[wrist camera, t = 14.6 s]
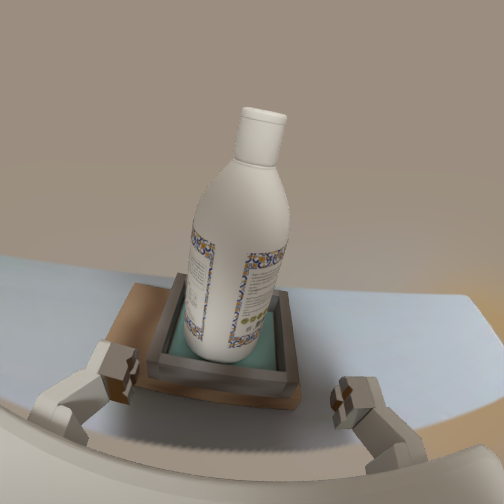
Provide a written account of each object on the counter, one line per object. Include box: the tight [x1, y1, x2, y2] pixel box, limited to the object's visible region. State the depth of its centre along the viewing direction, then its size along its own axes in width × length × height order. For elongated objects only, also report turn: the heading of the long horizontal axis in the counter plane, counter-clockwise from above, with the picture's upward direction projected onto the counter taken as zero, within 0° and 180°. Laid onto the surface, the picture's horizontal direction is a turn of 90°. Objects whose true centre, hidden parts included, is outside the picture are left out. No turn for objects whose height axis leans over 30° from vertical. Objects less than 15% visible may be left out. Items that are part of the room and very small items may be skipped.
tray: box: [105, 273, 301, 410], centre depth 27 cm, size 18×12×4 cm, turn 88°
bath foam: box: [184, 107, 290, 364], centre depth 22 cm, size 7×7×20 cm
